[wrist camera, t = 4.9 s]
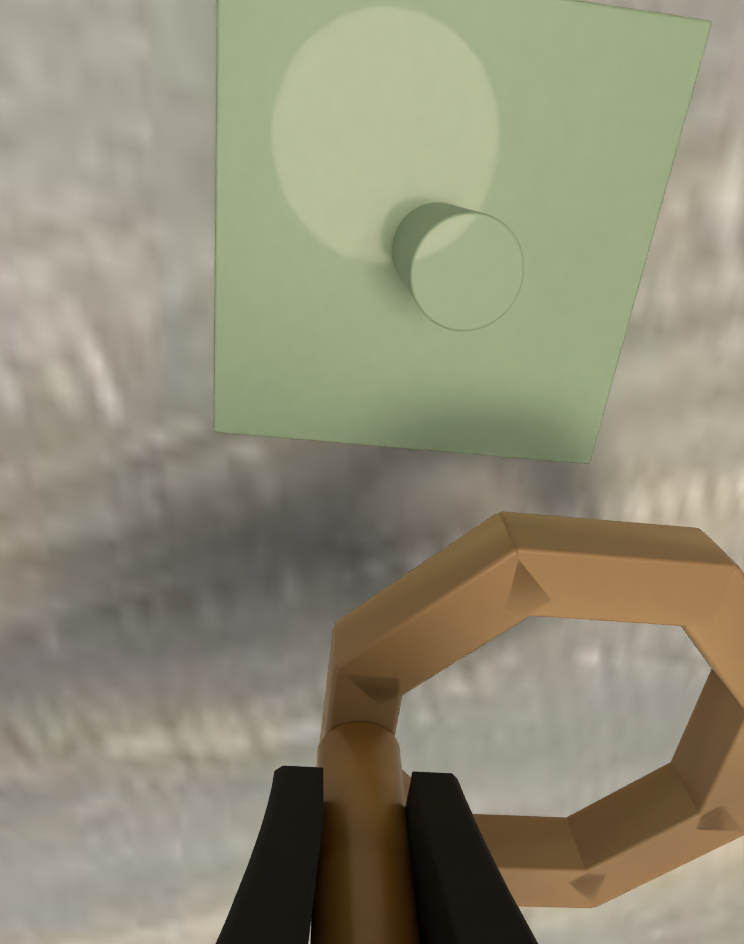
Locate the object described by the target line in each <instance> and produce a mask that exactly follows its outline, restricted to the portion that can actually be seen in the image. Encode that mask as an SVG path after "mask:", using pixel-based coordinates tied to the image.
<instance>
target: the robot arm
mask: <svg viewBox="0 0 744 944" xmlns="http://www.w3.org/2000/svg"><path fill="white" fill-rule="evenodd" d="M323 806H324V787H323V768H322V767H300V766H281V767H280V768H278V769H277V770H275V771H274V777H273V783H272V788H271V793H270V797H269V801H268V805H267V808H266V812H265V816H264V819H263V822H262V825H261V829H260V832H259V835H258V838H257V840H256V843H255V846H254V849H253V852H252V855H251V858H250V861H249V863H248V866H247V868H246V871H245V874H244V876H243V879H242V881H241V884H240V886H239V889H238V891H237V894H236V896H235V899H234V901H233V904H232V906H231V909H230V911H229V914H228V916H227V919H226V921H225V924H224V926H223V928H222V931H221V933H220V935H219V937H218V939H217V942H216V944H308V941H309V933H310V925H311V917H312V908H313V900H314V892H315V884H316V875H317V867H318V859H319V851H320V842H321V834H322V826H323ZM405 809H406V819H407V828H408V838H409V847H410V856H411V866H412V875H413V882H414V890H415V897H416V906H417V916H418V925H419V934H420V944H538V943H537V941H536V939H535V937H534V935H533V933H532V932H531V930H530V928H529V926H528V924H527V922H526V920H525V919H524V917H523V915H522V913H521V911H520V909H519V907H518V906H517V904H516V902H515V900H514V898H513V896H512V894H511V893H510V891H509V889H508V887H507V885H506V883H505V881H504V879H503V877H502V875H501V873H500V871H499V869H498V867H497V865H496V863H495V861H494V859H493V857H492V855H491V853H490V851H489V849H488V847H487V844H486V842H485V840H484V838H483V836H482V834H481V832H480V830H479V828H478V825H477V823H476V821H475V819H474V817H473V814H472V812H471V810H470V808H469V805H468V803H467V801H466V798H465V796H464V794H463V791H462V789H461V786H460V784H459V782H458V779H457V778H456V777H455V776H454V775H453V774H452V773H432V772H412V776H411V781H410V786H409V791H408V796H407V801H406V806H405Z"/></svg>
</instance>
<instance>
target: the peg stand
mask: <svg viewBox="0 0 744 944" xmlns="http://www.w3.org/2000/svg"><path fill="white" fill-rule="evenodd" d="M711 25H712V22H711V21H709V20H704V19H697V18H690V17H684V16H677V15H671V14H664V13H657V12H651V11H644V10H638V9H631V8H625V7H618V6H611V5H605V4H598V3H592V2H585V1H579V0H217V78H216V199H215V320H214V432H220V433H231V434H243V435H255V436H267V437H278V438H290V439H302V440H314V441H325V442H337V443H349V444H361V445H372V446H384V447H396V448H407V449H419V450H431V451H443V452H454V453H466V454H478V455H490V456H501V457H513V458H525V459H537V460H548V461H560V462H572V463H584V464H589V463H590V461H591V457H592V453H593V450H594V446H595V443H596V439H597V435H598V432H599V428H600V425H601V421H602V417H603V414H604V410H605V407H606V403H607V399H608V396H609V392H610V389H611V385H612V381H613V378H614V374H615V371H616V367H617V363H618V360H619V356H620V353H621V349H622V345H623V342H624V338H625V335H626V331H627V327H628V324H629V320H630V317H631V313H632V309H633V306H634V302H635V299H636V295H637V291H638V288H639V284H640V281H641V277H642V273H643V270H644V266H645V263H646V259H647V255H648V252H649V248H650V245H651V241H652V237H653V234H654V230H655V227H656V223H657V219H658V216H659V212H660V209H661V205H662V201H663V198H664V194H665V191H666V187H667V183H668V180H669V176H670V173H671V169H672V165H673V162H674V158H675V155H676V151H677V147H678V144H679V140H680V137H681V133H682V129H683V126H684V122H685V119H686V115H687V111H688V108H689V104H690V101H691V97H692V93H693V90H694V86H695V83H696V79H697V75H698V72H699V68H700V65H701V61H702V57H703V54H704V50H705V47H706V43H707V39H708V36H709V32H710V29H711Z"/></svg>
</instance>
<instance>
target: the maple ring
mask: <svg viewBox="0 0 744 944" xmlns="http://www.w3.org/2000/svg"><path fill="white" fill-rule="evenodd" d="M529 616H544V617H559V618H573V619H588V620H603V621H617V622H632V623H647V624H661V625H676V626H681V627H682V628H683V630H684V631H685V633H686V634H687V635H688V637H689V638H690V639H691V641H692V642H693V644H694V645H695V646H696V648H697V649H698V651H699V652H700V653H701V655H702V656H703V657H704V659H705V660H706V662H707V663H708V664H709V666H710V667H711V671H710V674H709V676H708V678H707V681H706V683H705V685H704V687H703V690H702V692H701V694H700V696H699V699H698V701H697V703H696V706H695V708H694V710H693V712H692V715H691V717H690V719H689V722H688V724H687V726H686V728H685V731H684V733H683V735H682V738H681V740H680V742H679V744H678V747H677V749H676V751H675V754H674V756H673V758H672V760H671V762H670V763H668V764H666V765H664V766H663V767H661V768H659V769H657V770H655V771H653V772H651V773H649V774H648V775H646V776H644V777H642V778H640V779H638V780H636V781H634V782H632V783H631V784H629V785H627V786H625V787H623V788H621V789H619V790H617V791H616V792H614V793H612V794H610V795H608V796H606V797H604V798H602V799H600V800H599V801H597V802H595V803H593V804H591V805H589V806H587V807H585V808H583V809H582V810H580V811H578V812H576V813H574V814H572V815H570V816H568V817H567V818H565V817H538V816H512V815H485V814H473V817H474V819H475V821H476V823H477V825H478V828H479V830H480V832H481V834H482V836H483V838H484V840H485V842H486V844H487V847H488V849H489V851H490V853H491V855H492V857H493V859H494V861H495V863H496V865H497V867H498V869H499V871H500V873H501V875H502V877H503V879H504V881H505V883H506V885H507V887H508V889H509V891H510V893H511V894H512V896H513V898H514V900H515V902H516V904H517V906H523V907H565V908H593V907H597V906H599V905H601V904H603V903H605V902H608V901H610V900H612V899H614V898H616V897H618V896H620V895H622V894H624V893H626V892H628V891H630V890H632V889H634V888H636V887H638V886H640V885H642V884H644V883H646V882H649V881H651V880H653V879H655V878H657V877H659V876H661V875H663V874H665V873H667V872H669V871H671V870H673V869H675V868H677V867H679V866H681V865H683V864H685V863H687V862H690V861H692V860H694V859H696V858H698V857H700V856H702V855H704V854H706V853H708V852H710V851H712V850H714V849H716V848H718V847H720V846H722V845H724V844H726V843H728V842H731V841H733V840H735V839H737V838H739V837H741V836H743V835H744V573H743V572H742V570H741V569H740V567H739V566H738V565H737V564H736V563H735V562H734V561H733V560H732V559H731V558H730V557H729V556H728V555H727V554H726V553H725V552H724V551H723V550H722V549H721V548H720V547H719V546H718V545H717V544H716V543H715V542H714V541H713V540H711V539H710V538H709V537H708V536H707V535H706V534H705V533H704V532H702V531H701V530H700V529H698V528H693V527H681V526H669V525H657V524H645V523H633V522H621V521H609V520H597V519H585V518H573V517H561V516H549V515H537V514H525V513H513V512H499V514H498V513H497V514H494V515H493V516H491V517H490V518H488V519H487V520H486V521H484V522H483V523H481V524H480V525H478V526H477V527H475V528H474V529H472V530H471V531H469V532H468V533H466V534H465V535H463V536H462V537H460V538H459V539H457V540H456V541H455V542H453V543H452V544H450V545H449V546H447V547H446V548H444V549H443V550H441V551H440V552H438V553H437V554H435V555H434V556H432V557H431V558H429V559H428V560H426V561H425V562H424V563H422V564H421V565H419V566H418V567H416V568H415V569H413V570H412V571H410V572H409V573H407V574H406V575H404V576H403V577H401V578H400V579H398V580H397V581H395V582H394V583H393V584H391V585H390V586H388V587H387V588H385V589H384V590H382V591H381V592H379V593H378V594H376V595H375V596H373V597H372V598H370V599H369V600H367V601H366V602H364V603H363V604H361V605H360V606H359V607H357V608H356V609H354V610H353V611H351V612H350V613H348V614H347V615H345V616H344V617H342V618H341V619H339V620H338V621H337V622H336V624H335V627H334V628H333V632H332V640H331V649H330V658H329V666H328V675H327V683H326V692H325V700H324V709H323V718H322V726H321V735H320V743H319V746H318V750H317V767H322V768H323V787H324V806H323V826H322V834H321V842H320V851H319V859H318V867H317V875H316V884H315V892H314V900H313V908H312V917H311V944H420V934H419V925H418V916H417V906H416V897H415V890H414V882H413V875H412V866H411V856H410V847H409V838H408V828H407V819H406V809H405V806H406V801H407V796H408V791H409V786H410V781H411V777H410V776H409V775H408V774H406V773H405V772H404V771H403V770H402V767H401V758H400V749H399V744H398V742H397V740H396V738H395V732H396V727H397V721H398V716H399V711H400V705H401V700H402V695H404V694H405V693H407V692H408V691H410V690H412V689H413V688H415V687H416V686H418V685H420V684H421V683H423V682H424V681H426V680H428V679H429V678H431V677H432V676H434V675H436V674H437V673H439V672H440V671H442V670H444V669H445V668H447V667H448V666H450V665H452V664H453V663H455V662H456V661H458V660H460V659H461V658H463V657H464V656H466V655H468V654H469V653H471V652H472V651H474V650H476V649H477V648H479V647H480V646H482V645H484V644H485V643H487V642H488V641H490V640H492V639H493V638H495V637H496V636H498V635H500V634H501V633H503V632H504V631H506V630H508V629H509V628H511V627H513V626H514V625H516V624H517V623H519V622H521V621H522V620H524V619H525V618H527V617H529Z"/></svg>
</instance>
